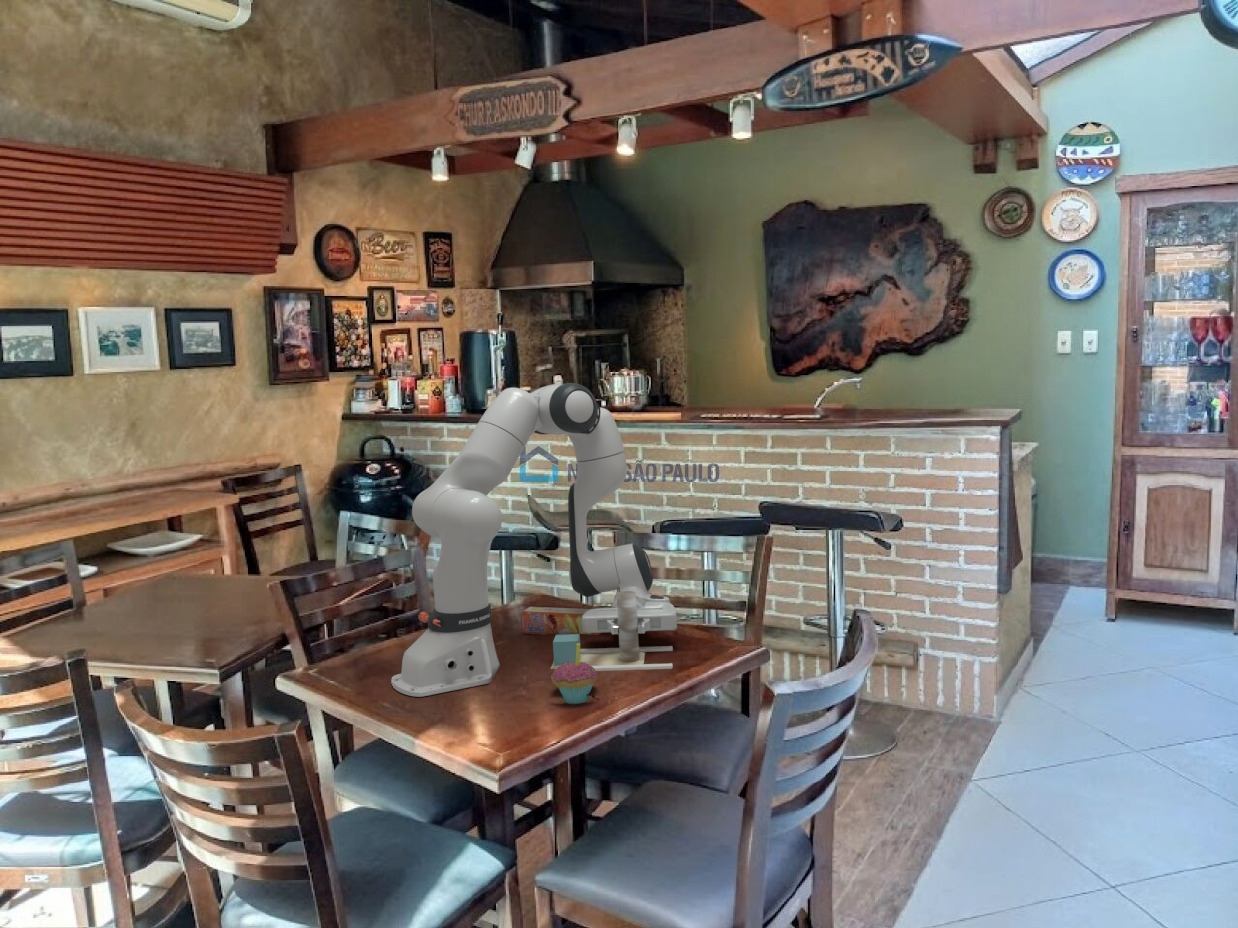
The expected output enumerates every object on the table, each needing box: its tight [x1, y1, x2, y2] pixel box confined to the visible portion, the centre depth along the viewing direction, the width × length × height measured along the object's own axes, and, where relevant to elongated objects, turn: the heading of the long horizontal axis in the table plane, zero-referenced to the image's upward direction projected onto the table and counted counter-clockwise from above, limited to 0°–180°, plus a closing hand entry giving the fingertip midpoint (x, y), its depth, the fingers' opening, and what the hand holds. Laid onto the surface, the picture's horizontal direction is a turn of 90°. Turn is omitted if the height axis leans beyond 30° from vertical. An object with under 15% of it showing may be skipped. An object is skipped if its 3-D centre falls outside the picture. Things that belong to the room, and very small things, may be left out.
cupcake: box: [550, 639, 598, 705], centre depth 171 cm, size 9×8×12 cm
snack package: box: [520, 606, 610, 636], centre depth 214 cm, size 21×7×7 cm, turn 66°
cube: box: [552, 634, 582, 666], centre depth 189 cm, size 5×5×5 cm
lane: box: [580, 645, 674, 672], centre depth 189 cm, size 23×13×2 cm, turn 86°
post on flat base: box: [550, 591, 646, 670], centre depth 189 cm, size 19×9×15 cm, turn 86°
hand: (627, 630), depth 187 cm, fingers closed on post on flat base, 4 cm apart
